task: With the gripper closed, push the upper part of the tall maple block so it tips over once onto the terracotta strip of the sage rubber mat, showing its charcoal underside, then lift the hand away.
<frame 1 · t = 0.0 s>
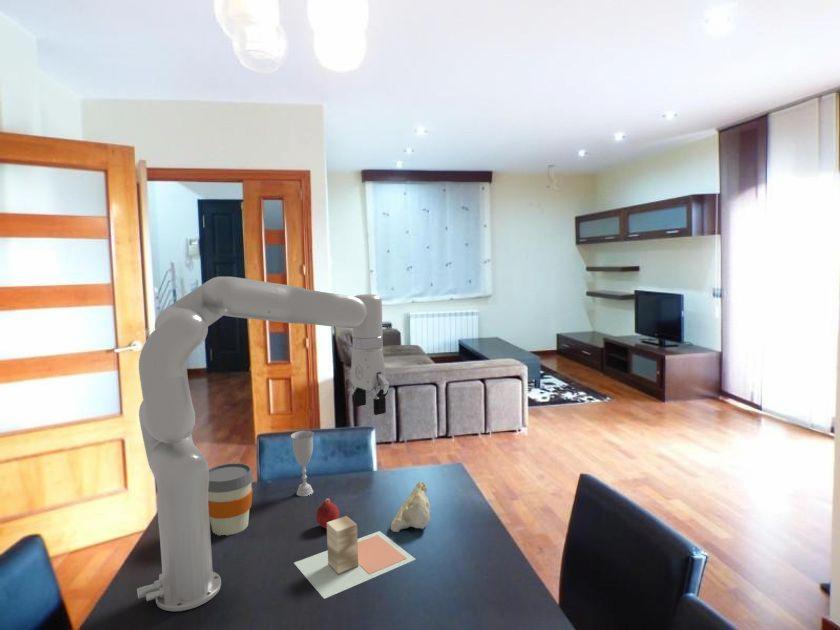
hand: (369, 409, 131), 31 cm above the table, tool pointing down, fingers open, 9 cm apart
beige rock: (412, 521, 137), on the table
reusable coffee cup: (230, 527, 136), on the table
mat: (355, 563, 118), on the table
chalice: (305, 493, 155), on the table
maple block: (343, 565, 116), resting on mat
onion: (328, 529, 134), on the table
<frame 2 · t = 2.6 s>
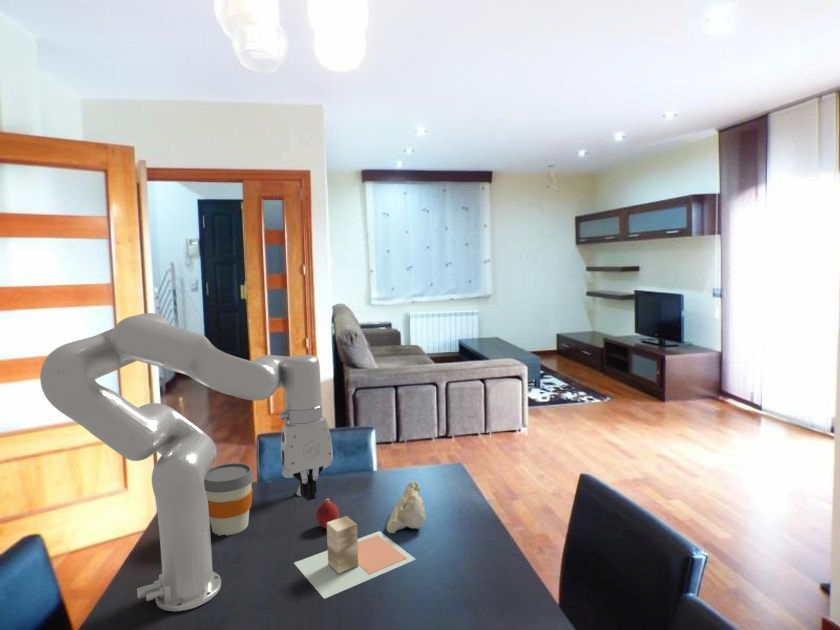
hand: (308, 497, 110), 19 cm above the table, tool pointing down, fingers closed
beige rock: (406, 521, 137), on the table
everything else where it was.
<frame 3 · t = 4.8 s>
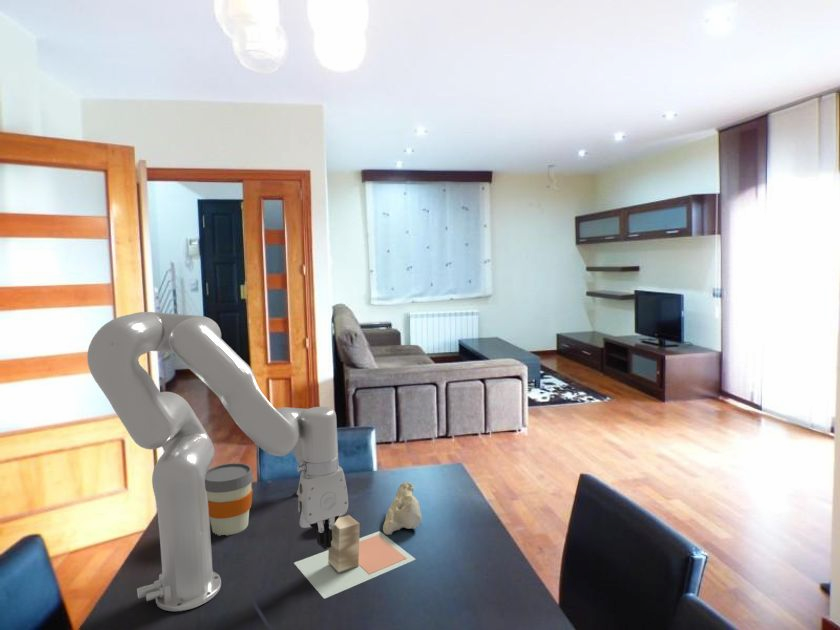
hand: (324, 545, 113), 7 cm above the table, tool pointing down, fingers closed
beige rock: (400, 522, 137), on the table
everything else where it was.
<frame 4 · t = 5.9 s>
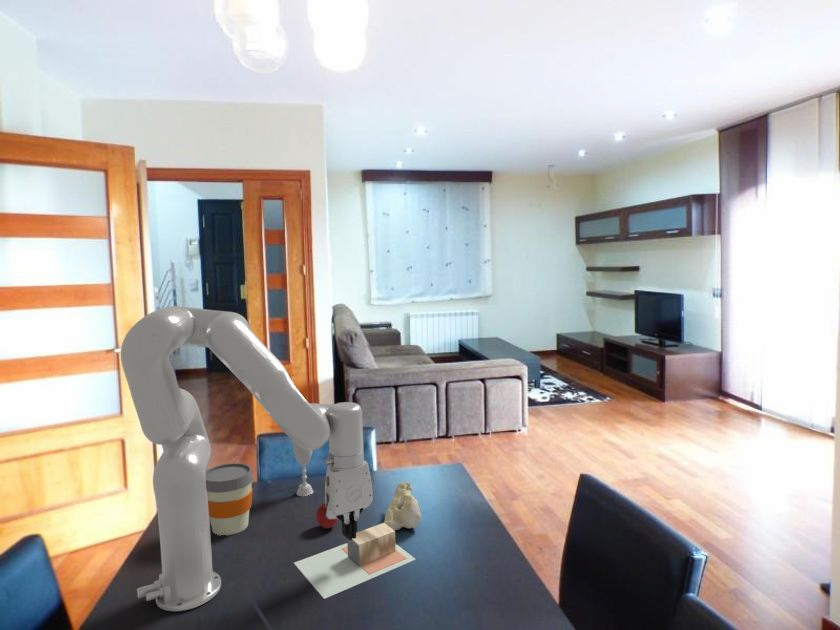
hand: (349, 536, 116), 7 cm above the table, tool pointing down, fingers closed
maple block: (352, 551, 117), point 3 cm above the table, tilted 90°, touching mat
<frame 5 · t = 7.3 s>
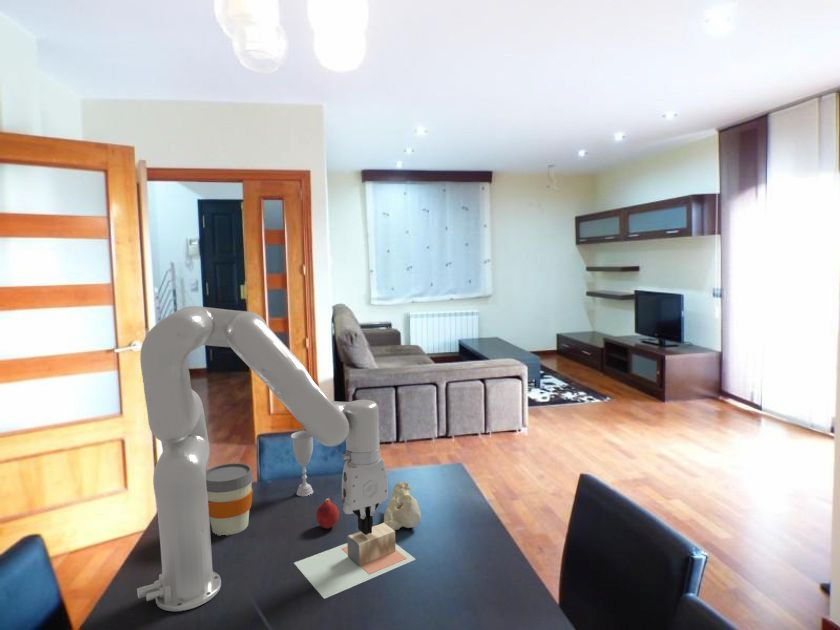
hand: (365, 531, 119), 7 cm above the table, tool pointing down, fingers closed
beige rock: (398, 522, 137), on the table, touching mat
everything else where it was.
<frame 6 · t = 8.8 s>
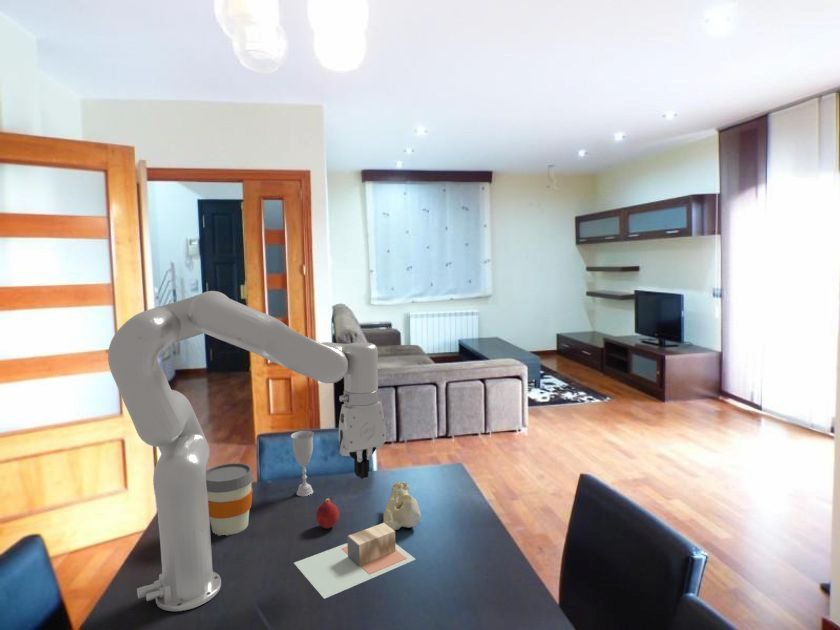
hand: (361, 476, 118), 20 cm above the table, tool pointing down, fingers closed
beige rock: (397, 522, 137), on the table
everything else where it was.
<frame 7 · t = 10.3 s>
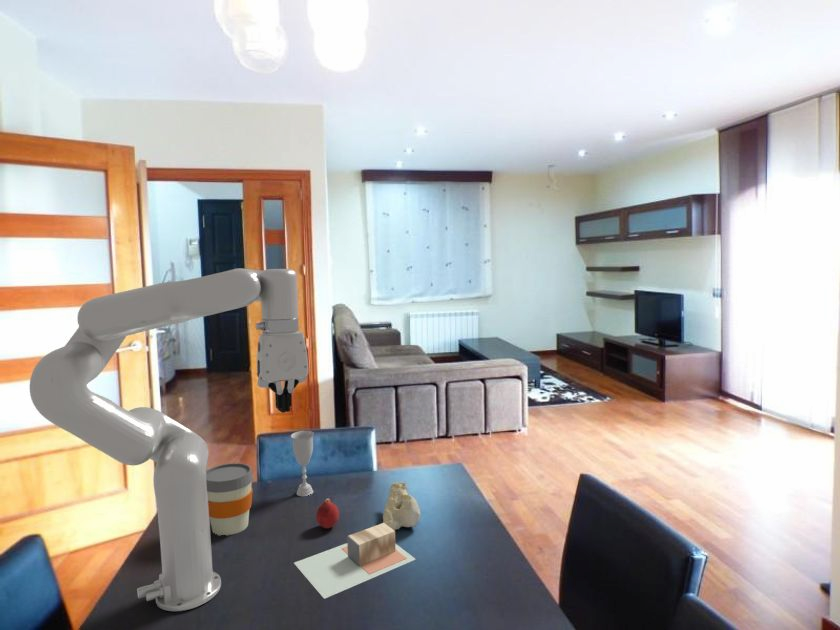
hand: (283, 410, 111), 37 cm above the table, tool pointing down, fingers closed
nothing on the table moved.
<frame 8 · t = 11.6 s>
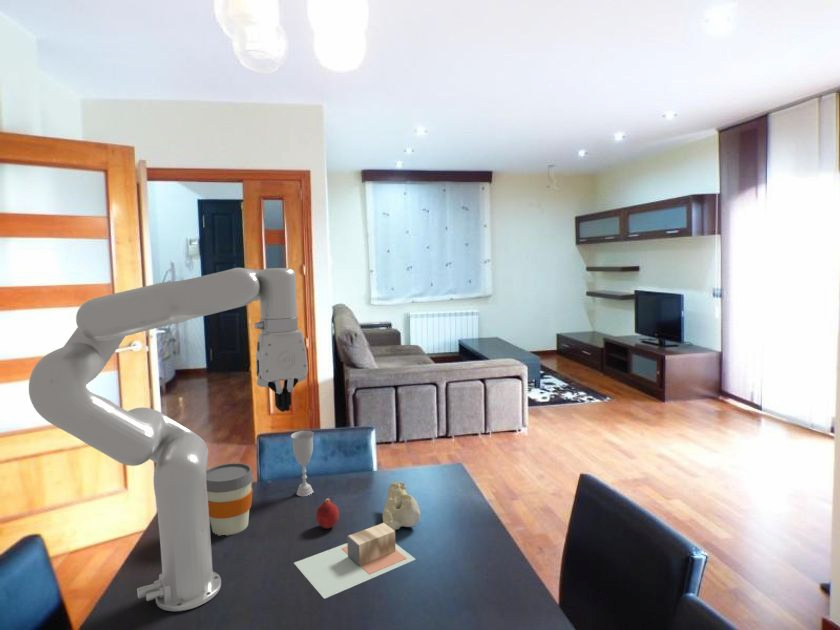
hand: (283, 409, 111), 37 cm above the table, tool pointing down, fingers closed
nothing on the table moved.
at the end: maple block tilted 90°; maple block inside the target area on the mat (1.0 cm from its centre), point 3.1 cm above the mat's base; the gripper is holding nothing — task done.
